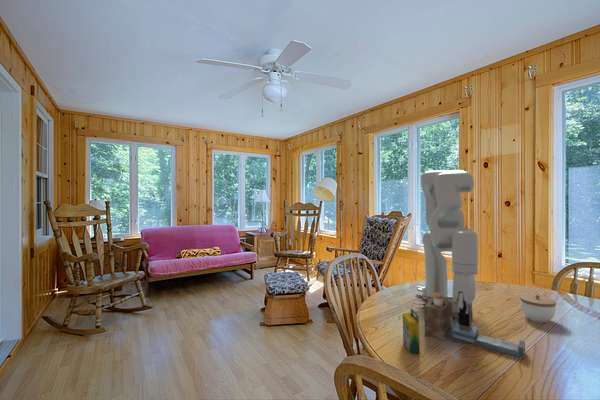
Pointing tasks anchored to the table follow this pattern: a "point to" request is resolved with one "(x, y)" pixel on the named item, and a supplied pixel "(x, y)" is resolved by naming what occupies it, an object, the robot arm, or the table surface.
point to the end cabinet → (437, 319)
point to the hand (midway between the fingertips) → (465, 322)
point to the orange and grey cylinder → (438, 299)
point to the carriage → (466, 329)
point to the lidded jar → (538, 307)
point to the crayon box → (411, 332)
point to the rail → (493, 344)
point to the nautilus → (454, 305)
